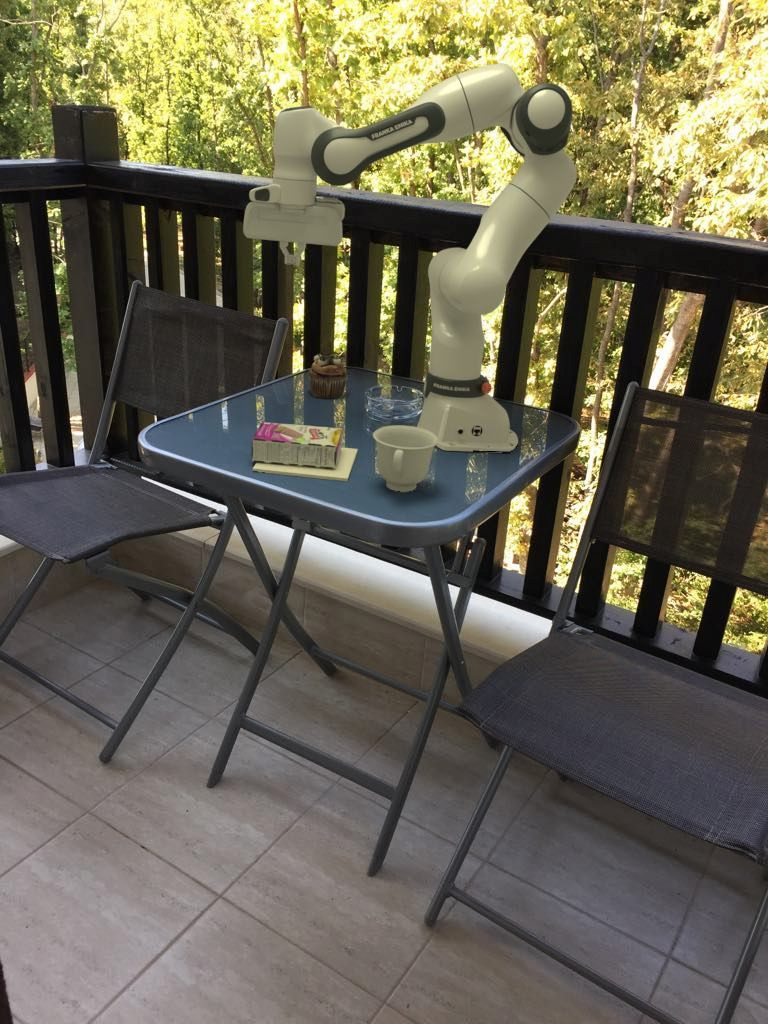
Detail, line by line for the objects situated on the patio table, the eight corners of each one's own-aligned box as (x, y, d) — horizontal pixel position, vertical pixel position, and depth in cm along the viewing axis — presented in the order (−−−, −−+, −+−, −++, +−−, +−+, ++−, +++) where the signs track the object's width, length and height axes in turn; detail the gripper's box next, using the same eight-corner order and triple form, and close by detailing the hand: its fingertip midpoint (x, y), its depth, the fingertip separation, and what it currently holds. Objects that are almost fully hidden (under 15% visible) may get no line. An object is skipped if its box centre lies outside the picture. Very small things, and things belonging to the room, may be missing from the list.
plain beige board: (357, 451, 176) (357, 448, 176) (347, 481, 161) (347, 478, 161) (270, 442, 177) (270, 439, 176) (252, 471, 162) (252, 468, 162)
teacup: (360, 500, 154) (363, 448, 150) (375, 470, 167) (379, 421, 163) (426, 509, 152) (432, 457, 148) (437, 479, 166) (442, 429, 162)
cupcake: (353, 398, 208) (355, 358, 204) (315, 401, 204) (317, 360, 200) (337, 387, 216) (339, 347, 212) (301, 389, 212) (302, 349, 208)
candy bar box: (261, 419, 173) (343, 427, 172) (261, 443, 175) (341, 450, 174) (251, 437, 162) (337, 446, 162) (250, 462, 164) (336, 470, 164)
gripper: (347, 197, 176) (343, 266, 182) (248, 188, 177) (248, 257, 183) (343, 199, 170) (339, 271, 176) (241, 190, 171) (241, 262, 177)
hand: (292, 264), depth 179 cm, fingers closed
